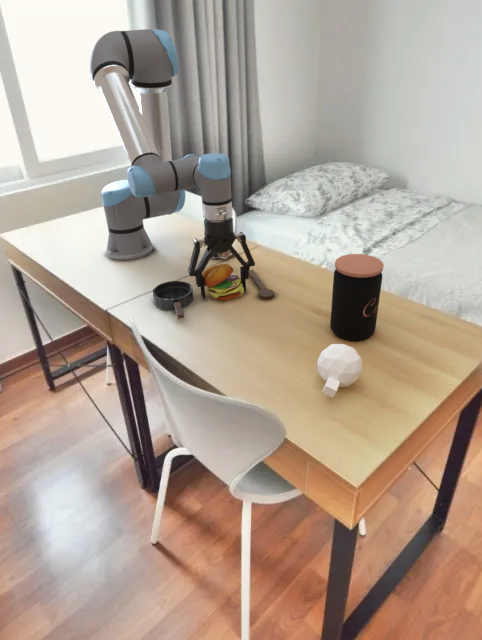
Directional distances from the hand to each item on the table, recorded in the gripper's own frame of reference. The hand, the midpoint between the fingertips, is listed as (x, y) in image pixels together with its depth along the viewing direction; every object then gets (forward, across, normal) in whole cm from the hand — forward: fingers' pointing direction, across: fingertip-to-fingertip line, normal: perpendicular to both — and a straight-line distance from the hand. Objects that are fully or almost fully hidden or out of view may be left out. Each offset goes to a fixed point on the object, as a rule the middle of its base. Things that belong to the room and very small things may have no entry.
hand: (223, 292), depth 130 cm
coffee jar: (+1, +25, -29) cm, 38 cm away
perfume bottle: (+1, +12, -46) cm, 47 cm away
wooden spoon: (+1, +11, +1) cm, 11 cm away
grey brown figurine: (+1, +5, +27) cm, 28 cm away
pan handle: (+1, -14, -8) cm, 16 cm away
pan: (0, -14, +1) cm, 14 cm away
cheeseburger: (+1, 0, 0) cm, 1 cm away
